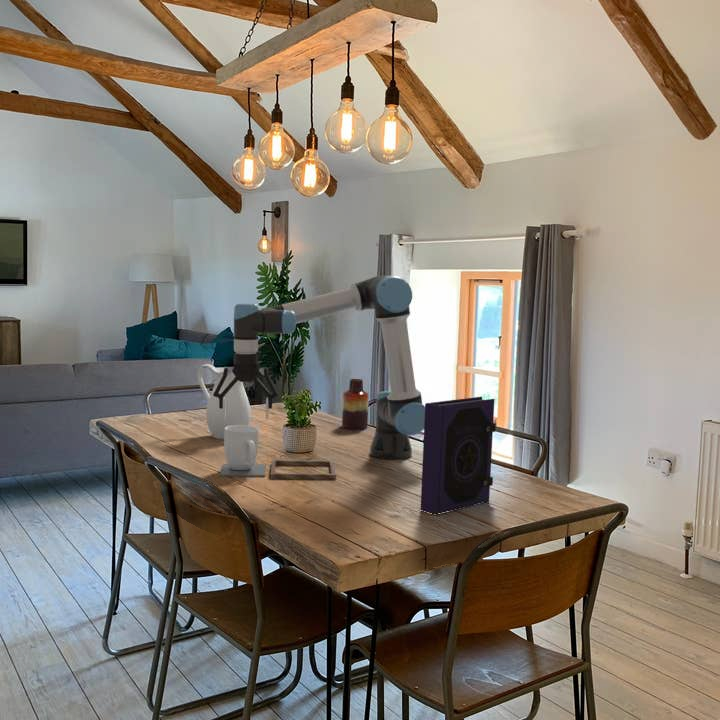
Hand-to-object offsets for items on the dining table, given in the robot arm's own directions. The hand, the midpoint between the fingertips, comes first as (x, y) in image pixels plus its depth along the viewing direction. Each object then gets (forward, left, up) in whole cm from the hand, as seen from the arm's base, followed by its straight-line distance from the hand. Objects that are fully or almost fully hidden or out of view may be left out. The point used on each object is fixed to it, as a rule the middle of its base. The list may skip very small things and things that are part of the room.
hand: (245, 418), depth 246 cm
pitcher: (+12, -54, -17) cm, 58 cm away
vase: (-42, -76, -17) cm, 88 cm away
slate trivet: (0, 0, -17) cm, 17 cm away
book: (-61, +37, -17) cm, 73 cm away
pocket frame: (-19, 0, -17) cm, 25 cm away
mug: (+1, 0, -17) cm, 17 cm away
